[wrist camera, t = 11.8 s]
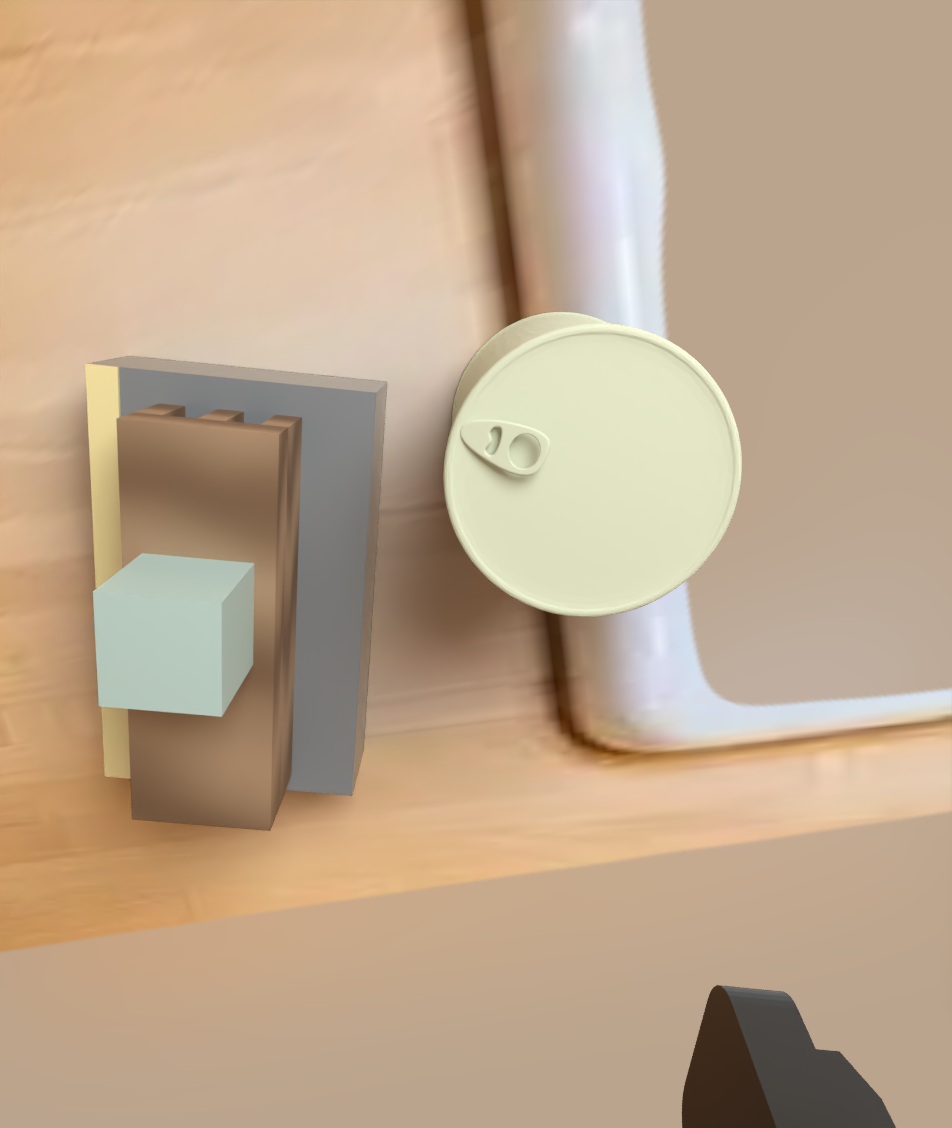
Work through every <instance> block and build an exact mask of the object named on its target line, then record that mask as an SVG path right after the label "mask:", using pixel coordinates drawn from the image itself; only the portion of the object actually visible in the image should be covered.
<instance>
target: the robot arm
mask: <svg viewBox="0 0 952 1128" xmlns="http://www.w3.org/2000/svg"><path fill="white" fill-rule="evenodd" d="M682 1128H896V1127H895V1125H894V1123H893V1121H892V1119H891V1117H890V1115H889V1113H888V1111H887V1109H886V1107H885V1105H884V1103H883V1101H882V1099H881V1098H880V1097H879V1096H878V1094H877V1093H876V1092H875V1091H874V1090H873V1089H872V1088H871V1087H870V1086H869V1084H868V1083H867V1082H866V1081H865V1080H864V1079H863V1078H862V1076H861V1075H860V1074H859V1073H858V1072H857V1071H856V1070H855V1069H854V1067H853V1066H852V1065H851V1064H850V1063H849V1062H848V1061H847V1060H846V1058H845V1057H844V1056H843V1055H842V1054H841V1053H840V1052H838V1051H827V1050H817V1049H815V1047H814V1044H813V1042H812V1040H811V1038H810V1035H809V1033H808V1031H807V1029H806V1026H805V1024H804V1022H803V1020H802V1018H801V1015H800V1013H799V1011H798V1009H797V1007H796V1005H795V1003H794V1001H793V1000H792V998H791V997H790V996H789V995H788V994H787V993H785V992H781V991H771V990H761V989H750V988H740V987H730V986H719V985H717V986H715V987H714V988H713V989H712V990H711V992H710V995H709V998H708V1001H707V1004H706V1008H705V1012H704V1015H703V1019H702V1023H701V1026H700V1030H699V1034H698V1038H697V1041H696V1045H695V1048H694V1052H693V1056H692V1060H691V1063H690V1067H689V1071H688V1075H687V1078H686V1082H685V1086H684V1092H683V1100H682Z"/></svg>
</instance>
